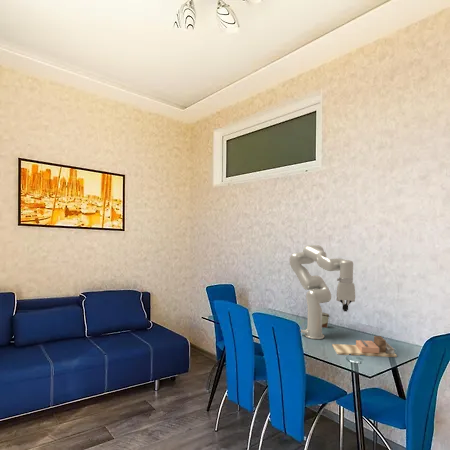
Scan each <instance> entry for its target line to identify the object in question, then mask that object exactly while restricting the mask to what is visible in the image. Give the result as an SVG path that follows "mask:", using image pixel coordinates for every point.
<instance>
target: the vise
mask: <svg viewBox="0 0 450 450" xmlns="http://www.w3.org/2000/svg"><path fill="white" fill-rule="evenodd" d="M331 345H332V348H333V350H334V351H335V353H336V354H337V355H341V356H342V355H343V356H360V355H365V356H366V357H387V358H397V357H398V355H397V354H396V352H395V348H393V346H391V344H389V343H388V341H386V353H364V352H361V351H360V349H359V348H358V347H357V346H356V344H344V343H343V344H341V343H332V344H331ZM349 354H351V355H349ZM365 356H364V357H365Z"/></svg>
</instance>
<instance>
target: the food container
mask: <svg viewBox="0 0 450 450" xmlns="http://www.w3.org/2000/svg"><path fill="white" fill-rule="evenodd" d="M329 318H330V314H329V313H327V312H323V311H322V329H323V328H324V329H328V325H329Z"/></svg>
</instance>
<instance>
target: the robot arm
mask: <svg viewBox="0 0 450 450" xmlns="http://www.w3.org/2000/svg"><path fill="white" fill-rule="evenodd" d="M314 262H316V263H317V265H318V267H319V268H320V269H323V270H325V271H328V272H335V271H337V272H339V277H338V278H337V279H336V281H337V282H338V284H337V288H336V299H335V301H337V302H340V303H341V304H342V306H341V307H342V311H343V312H348V311H349V306H350V304H351V303H355V302H356V287H355V283H354V282H353V281H354V262H353V261H352V260H349V259H344V258H339V257H338V258H327V253H326V251H325V250H324V248H323V246H321V245H316V244H315V245H313V244H311V245H306V246H304V248H303V251H300V252H299V251H298V252H294V253H292V254H290V256H289V265H290V268H291V270H292V271H293V272H294V274H295V276H296V277H297V279H298V281H299V283H300V285H301V287H302V288H303V289H304V290H306V291H307V292H306V295H305V297H306V303H307V304H306V305H307V325H306V326H307V327H306V329H300V330H301V332H300V333H302V334H304V336H305V338H308V339H312V340H322V339H324V338H325V335H324V333H323V328H322V312H323V308H322V306H321V304H324V303H329V302H330V301H331V300H332V294H331V291H330V289H329V287H328V285H327V284H326V282H325V279H323V278H322V277H321V276H320V275H312V274H311V273H310V272H309V271H308V269H307V268H306V267H305V266H304V265H310V264H313V263H314Z"/></svg>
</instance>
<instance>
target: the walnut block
mask: <svg viewBox="0 0 450 450" xmlns="http://www.w3.org/2000/svg"><path fill="white" fill-rule="evenodd" d="M373 342H374V343H375V344H376V345H377V346H378V347H379V348H380V353H386V342H387V341H386V339H384V337H382V335H381V336H380V335H374V336H373Z"/></svg>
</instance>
